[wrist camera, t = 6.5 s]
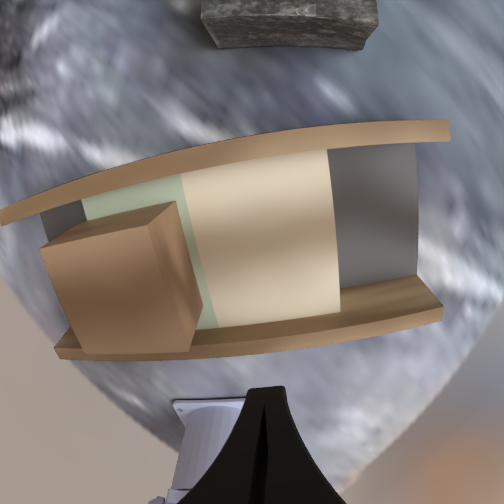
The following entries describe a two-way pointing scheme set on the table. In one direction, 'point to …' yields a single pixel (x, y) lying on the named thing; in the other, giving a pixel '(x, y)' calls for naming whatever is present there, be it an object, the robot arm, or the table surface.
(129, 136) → the table surface
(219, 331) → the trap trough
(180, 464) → the robot arm
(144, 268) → the walnut block
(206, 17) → the stone block
